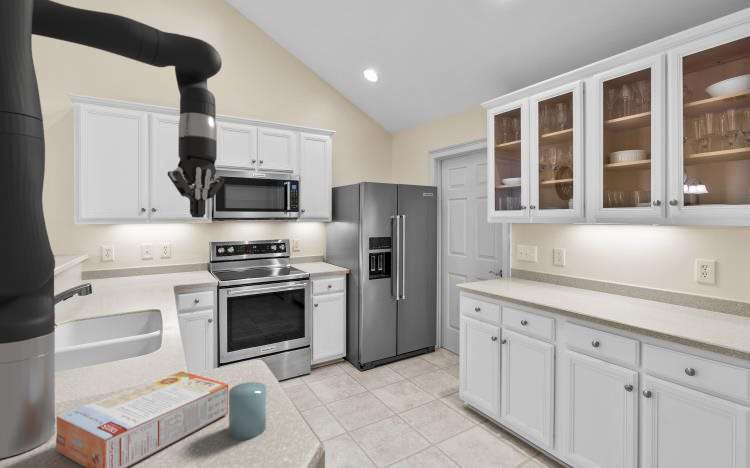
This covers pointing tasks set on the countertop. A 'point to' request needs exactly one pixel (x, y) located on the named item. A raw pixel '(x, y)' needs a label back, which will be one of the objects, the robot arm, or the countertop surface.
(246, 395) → the pale blue rounded cylinder
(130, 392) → the cracker box
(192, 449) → the countertop surface
